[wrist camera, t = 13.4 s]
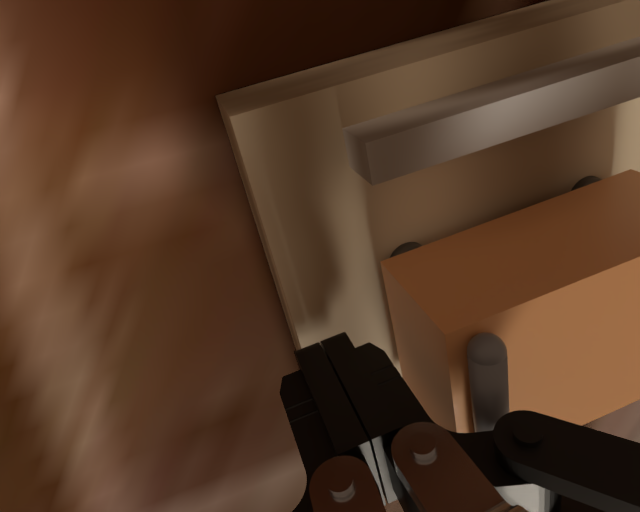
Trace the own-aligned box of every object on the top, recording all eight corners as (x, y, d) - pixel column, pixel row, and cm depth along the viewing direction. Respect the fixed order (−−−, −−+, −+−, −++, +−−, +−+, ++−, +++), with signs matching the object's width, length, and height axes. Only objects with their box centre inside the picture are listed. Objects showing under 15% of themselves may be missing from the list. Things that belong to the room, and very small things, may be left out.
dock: (321, 430, 20) (371, 556, 16) (215, 95, 13) (248, 144, 9) (621, 308, 23) (742, 386, 18) (665, -34, 16) (883, -50, 11)
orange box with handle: (397, 378, 16) (480, 506, 12) (371, 251, 14) (465, 358, 9) (602, 294, 17) (741, 384, 13) (614, 163, 15) (791, 224, 11)
